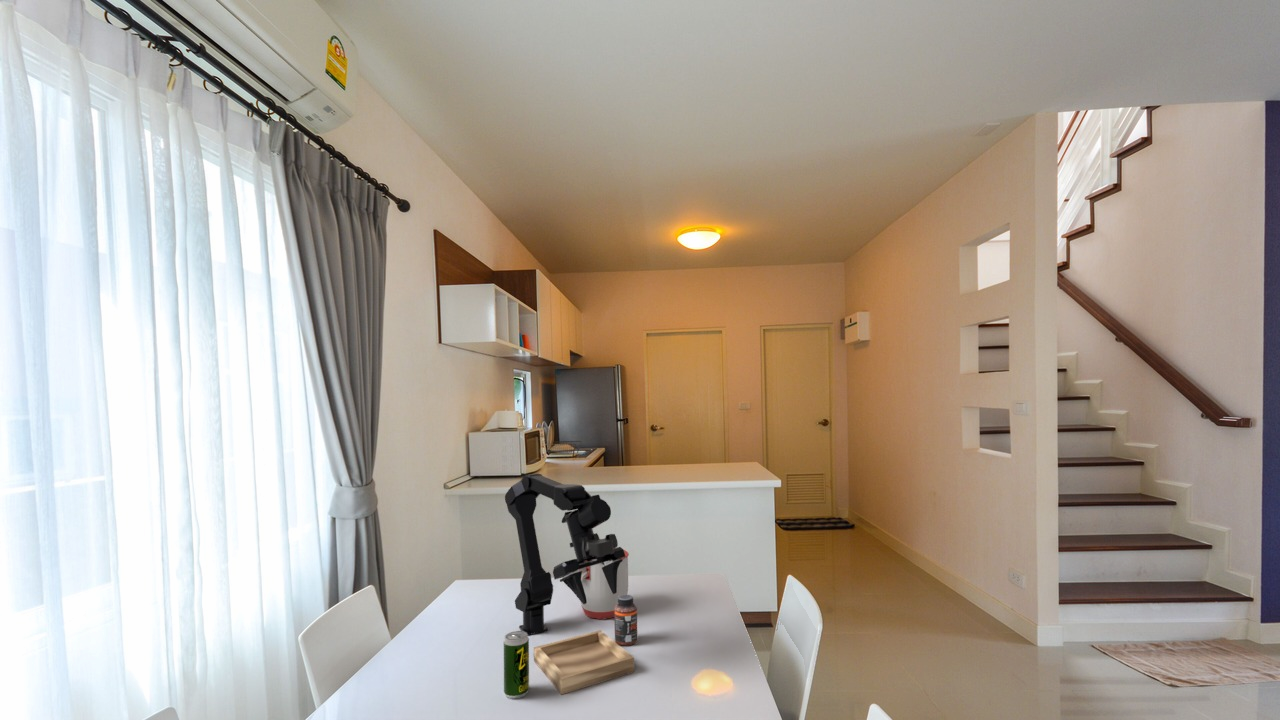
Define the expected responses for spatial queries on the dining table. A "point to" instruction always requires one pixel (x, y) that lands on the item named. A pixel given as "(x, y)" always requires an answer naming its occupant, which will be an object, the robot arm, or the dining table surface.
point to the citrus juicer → (603, 589)
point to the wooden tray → (582, 661)
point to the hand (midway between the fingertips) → (600, 598)
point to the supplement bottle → (625, 621)
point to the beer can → (516, 664)
